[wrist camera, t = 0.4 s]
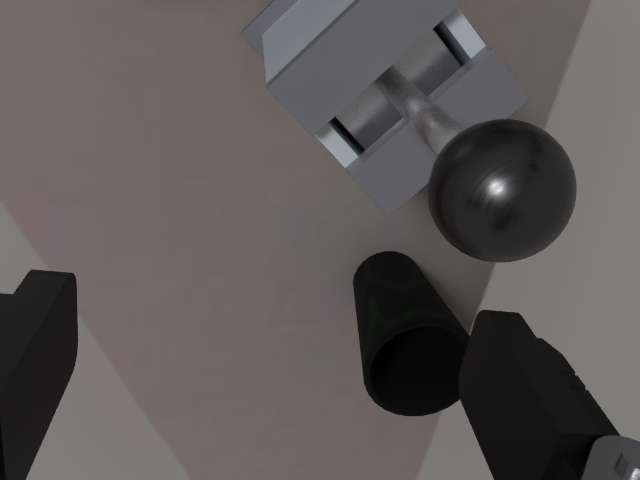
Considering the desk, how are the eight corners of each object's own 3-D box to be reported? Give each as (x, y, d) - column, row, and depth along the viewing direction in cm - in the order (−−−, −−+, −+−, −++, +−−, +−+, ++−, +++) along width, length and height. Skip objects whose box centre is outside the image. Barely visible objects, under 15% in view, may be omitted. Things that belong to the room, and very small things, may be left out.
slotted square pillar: (353, -79, 39) (423, -97, 23) (445, 42, 43) (561, 100, 27) (240, 32, 41) (232, 87, 25) (337, 137, 45) (384, 244, 29)
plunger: (395, -16, 27) (570, 30, 12) (470, 81, 29) (695, 222, 14) (299, 74, 28) (349, 216, 13) (377, 161, 31) (495, 366, 16)
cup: (431, 315, 53) (477, 410, 42) (343, 325, 52) (366, 424, 41) (432, 234, 49) (482, 315, 38) (337, 244, 49) (361, 328, 38)
